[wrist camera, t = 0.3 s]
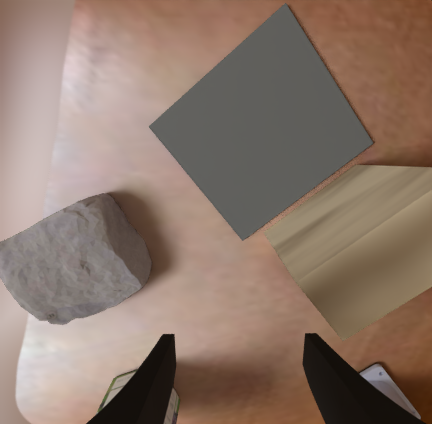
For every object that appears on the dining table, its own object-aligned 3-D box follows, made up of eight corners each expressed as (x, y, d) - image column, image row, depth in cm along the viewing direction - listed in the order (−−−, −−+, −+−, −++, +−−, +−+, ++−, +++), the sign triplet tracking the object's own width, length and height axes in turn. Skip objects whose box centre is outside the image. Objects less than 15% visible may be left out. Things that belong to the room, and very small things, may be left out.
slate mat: (371, 143, 19) (373, 143, 19) (242, 239, 21) (242, 240, 21) (284, 5, 17) (285, 2, 17) (149, 127, 19) (148, 126, 19)
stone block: (166, 260, 24) (106, 179, 20) (158, 293, 20) (80, 198, 16) (77, 302, 26) (6, 235, 22) (51, 341, 21) (-43, 266, 18)
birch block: (382, 207, 21) (503, 242, 12) (293, 269, 22) (343, 341, 14) (354, 164, 20) (462, 168, 11) (263, 232, 21) (295, 282, 13)
